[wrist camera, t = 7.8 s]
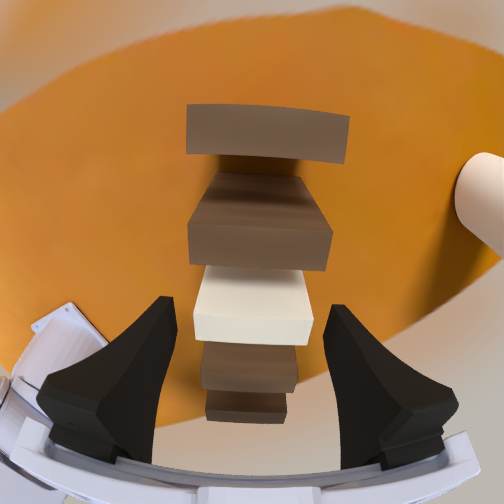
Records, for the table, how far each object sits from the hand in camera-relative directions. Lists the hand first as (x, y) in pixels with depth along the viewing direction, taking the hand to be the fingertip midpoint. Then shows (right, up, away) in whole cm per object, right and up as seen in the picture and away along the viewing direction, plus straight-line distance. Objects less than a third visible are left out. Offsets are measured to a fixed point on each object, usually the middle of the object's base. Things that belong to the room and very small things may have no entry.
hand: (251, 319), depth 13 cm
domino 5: (0, -4, +10) cm, 11 cm away
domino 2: (0, +7, +4) cm, 8 cm away
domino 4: (0, 0, +8) cm, 8 cm away
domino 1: (+1, +10, +2) cm, 11 cm away
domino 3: (0, +3, +6) cm, 7 cm away
